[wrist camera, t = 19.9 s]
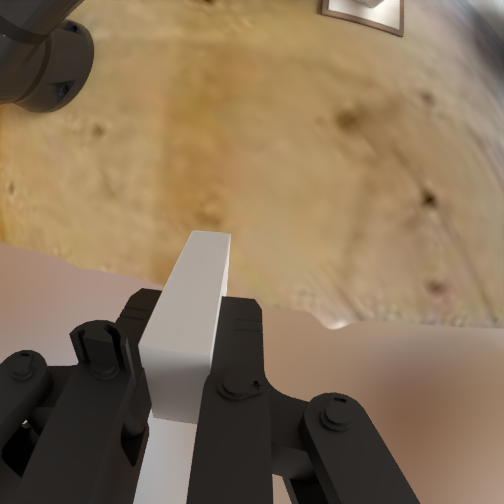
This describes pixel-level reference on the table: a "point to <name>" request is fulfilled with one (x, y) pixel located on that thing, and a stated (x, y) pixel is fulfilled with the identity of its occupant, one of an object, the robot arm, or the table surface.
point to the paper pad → (368, 14)
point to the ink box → (371, 2)
